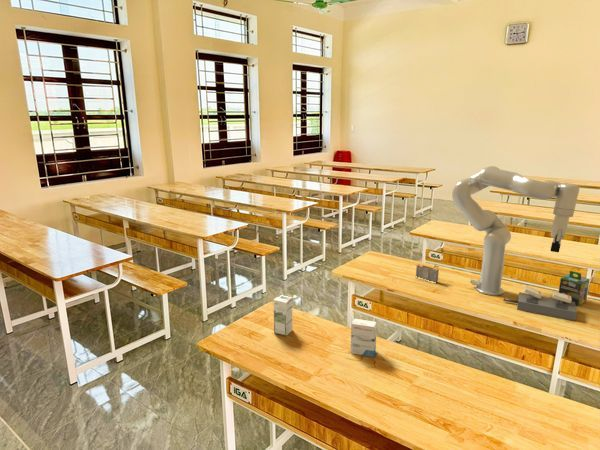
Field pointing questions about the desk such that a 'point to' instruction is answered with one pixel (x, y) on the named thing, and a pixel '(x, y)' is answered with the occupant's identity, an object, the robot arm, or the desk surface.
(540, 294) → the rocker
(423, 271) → the architectural model on board
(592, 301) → the desk surface
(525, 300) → the power strip
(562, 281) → the chalk box
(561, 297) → the block
